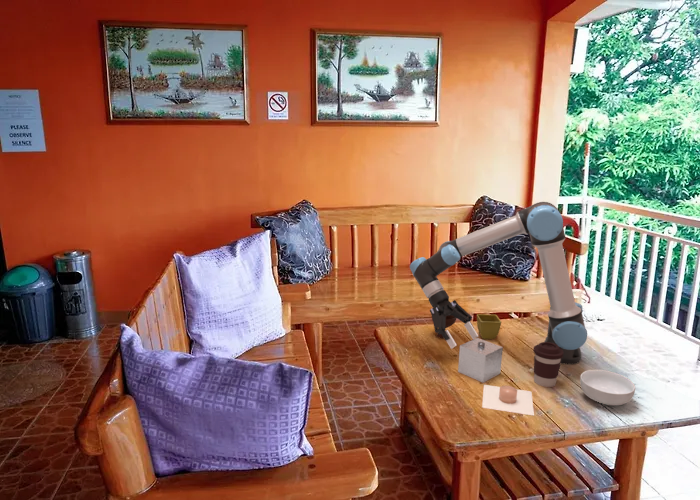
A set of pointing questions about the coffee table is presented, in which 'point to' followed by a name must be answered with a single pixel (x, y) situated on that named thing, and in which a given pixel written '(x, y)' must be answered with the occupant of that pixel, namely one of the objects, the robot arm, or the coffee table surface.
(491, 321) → the flower pot
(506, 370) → the coffee table surface
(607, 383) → the cereal bowl
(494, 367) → the metal cover
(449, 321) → the ice cream bowl
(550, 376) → the coffee cup
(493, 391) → the serving board
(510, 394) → the pink domed cylinder
